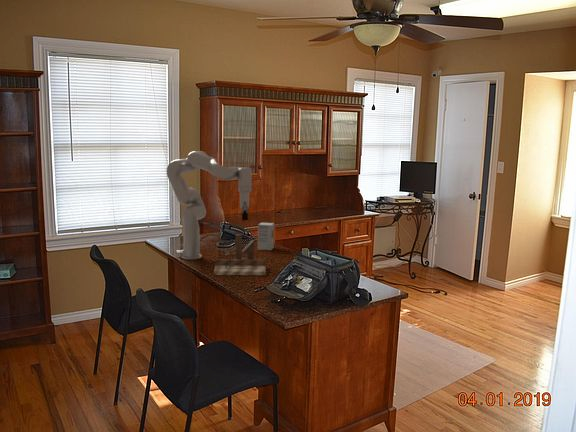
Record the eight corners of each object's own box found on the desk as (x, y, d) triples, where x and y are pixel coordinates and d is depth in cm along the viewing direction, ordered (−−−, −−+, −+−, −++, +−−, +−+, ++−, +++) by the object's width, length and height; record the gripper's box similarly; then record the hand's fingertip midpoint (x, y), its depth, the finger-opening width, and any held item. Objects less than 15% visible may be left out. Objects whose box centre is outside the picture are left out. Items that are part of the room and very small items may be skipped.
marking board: (213, 274, 272) (213, 265, 271) (215, 267, 286) (215, 259, 285) (265, 275, 274) (266, 266, 273) (265, 268, 288) (265, 259, 287)
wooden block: (253, 264, 295) (254, 234, 292) (235, 265, 291) (236, 235, 288) (252, 263, 298) (252, 233, 295) (234, 264, 295) (234, 234, 292)
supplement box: (271, 250, 330) (271, 225, 327) (257, 249, 331) (257, 224, 328) (273, 247, 339) (274, 222, 336) (260, 246, 341) (261, 222, 338)
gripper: (238, 187, 296) (238, 216, 299) (238, 190, 279) (238, 221, 282) (251, 187, 297) (251, 216, 300) (251, 190, 280) (251, 221, 283)
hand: (244, 218), depth 291 cm, fingers open, 9 cm apart
